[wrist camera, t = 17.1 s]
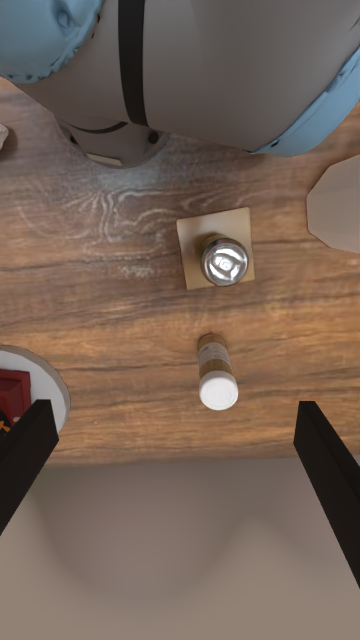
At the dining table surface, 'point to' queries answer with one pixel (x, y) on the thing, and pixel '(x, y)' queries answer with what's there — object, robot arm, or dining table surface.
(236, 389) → the sprinkles bottle
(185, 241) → the coaster
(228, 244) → the green can
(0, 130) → the white rock
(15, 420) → the gramophone
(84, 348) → the dining table surface
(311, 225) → the cup
